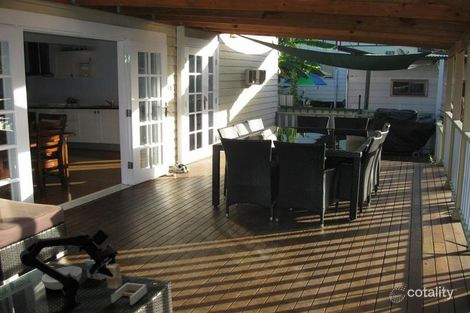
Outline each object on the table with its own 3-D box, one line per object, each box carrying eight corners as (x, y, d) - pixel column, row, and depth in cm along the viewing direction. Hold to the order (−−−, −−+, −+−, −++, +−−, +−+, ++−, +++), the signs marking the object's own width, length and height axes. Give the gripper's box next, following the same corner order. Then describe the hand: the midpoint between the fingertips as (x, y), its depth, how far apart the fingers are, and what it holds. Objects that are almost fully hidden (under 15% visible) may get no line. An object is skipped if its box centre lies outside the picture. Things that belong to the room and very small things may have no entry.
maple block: (116, 289, 230) (113, 268, 229) (107, 288, 232) (105, 267, 230) (122, 284, 235) (119, 264, 233) (113, 283, 237) (111, 263, 235)
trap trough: (132, 305, 227) (131, 297, 226) (111, 302, 232) (110, 295, 231) (147, 291, 240) (146, 284, 239) (127, 289, 244) (126, 282, 244)
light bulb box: (87, 278, 264) (84, 260, 262) (96, 273, 270) (93, 255, 268) (101, 280, 259) (99, 262, 257) (110, 275, 265) (107, 257, 263)
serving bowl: (89, 276, 266) (87, 265, 265) (73, 293, 246) (71, 281, 245) (54, 277, 269) (52, 266, 267) (35, 295, 248) (33, 283, 247)
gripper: (90, 248, 222) (113, 271, 220) (112, 235, 239) (134, 256, 238) (79, 263, 226) (101, 286, 224) (101, 249, 243) (122, 270, 242)
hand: (115, 274), depth 232 cm, fingers closed on maple block, 5 cm apart
